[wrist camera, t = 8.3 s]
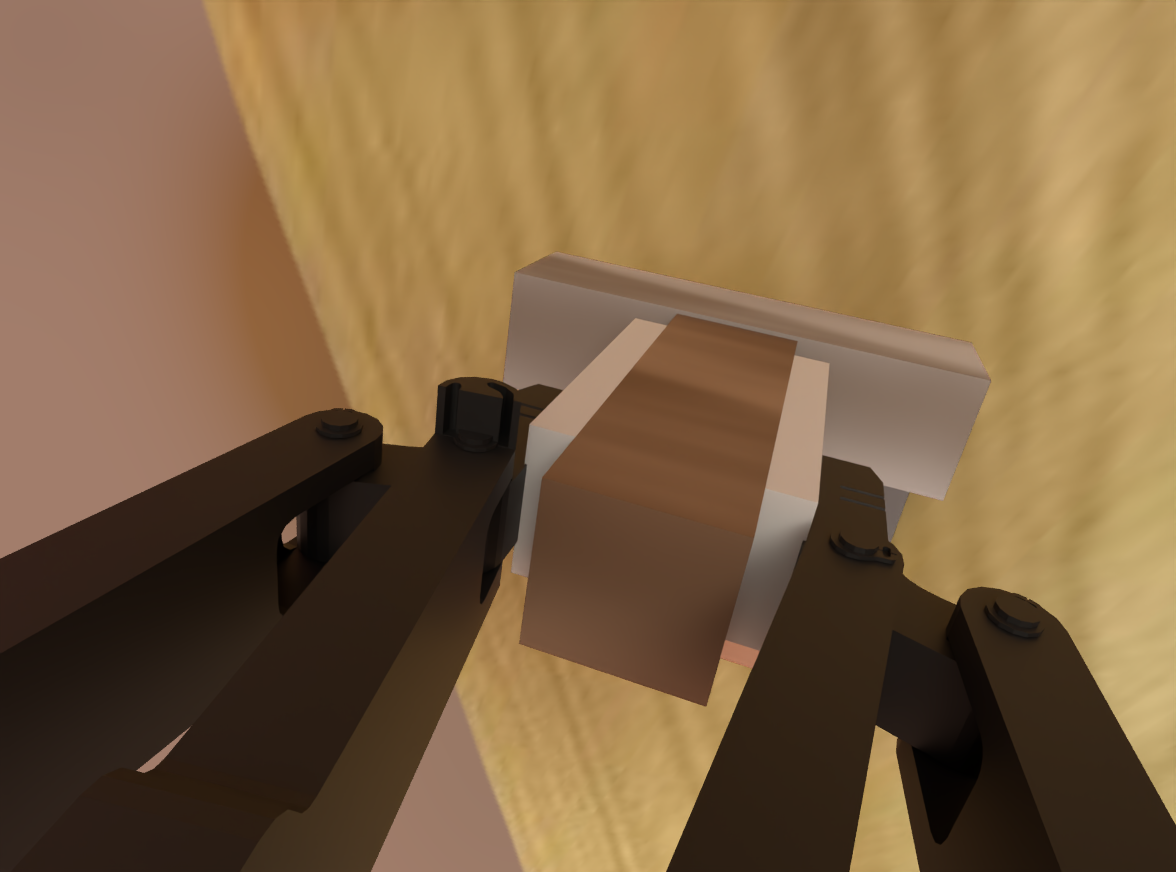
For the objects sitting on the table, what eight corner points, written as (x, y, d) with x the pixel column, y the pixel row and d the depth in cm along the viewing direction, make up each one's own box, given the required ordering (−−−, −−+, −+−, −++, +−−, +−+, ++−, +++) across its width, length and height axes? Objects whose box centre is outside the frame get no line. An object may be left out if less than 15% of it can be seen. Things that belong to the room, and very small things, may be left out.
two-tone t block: (931, 450, 20) (1017, 817, 10) (543, 352, 23) (278, 567, 12) (971, 342, 19) (1121, 635, 9) (555, 251, 21) (272, 394, 11)
